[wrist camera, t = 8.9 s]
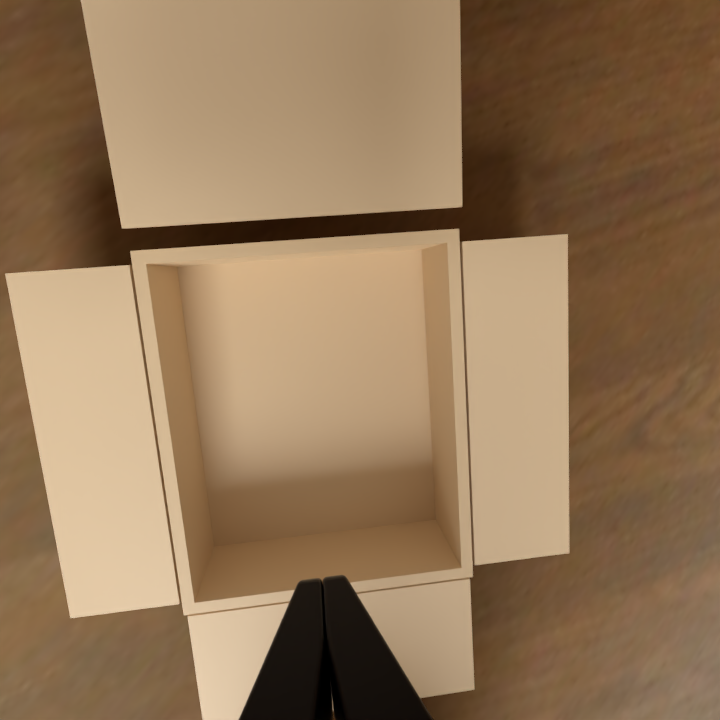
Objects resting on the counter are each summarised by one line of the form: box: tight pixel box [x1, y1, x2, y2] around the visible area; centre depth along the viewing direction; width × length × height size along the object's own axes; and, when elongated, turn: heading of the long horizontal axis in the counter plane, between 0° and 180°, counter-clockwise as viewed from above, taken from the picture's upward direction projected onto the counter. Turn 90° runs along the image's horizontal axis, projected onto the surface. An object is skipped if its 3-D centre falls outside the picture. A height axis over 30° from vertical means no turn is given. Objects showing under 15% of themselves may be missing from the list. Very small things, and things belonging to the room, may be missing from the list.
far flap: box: [81, 0, 462, 229], centre depth 14 cm, size 1×10×7 cm
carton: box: [5, 229, 569, 720], centre depth 19 cm, size 17×17×4 cm
